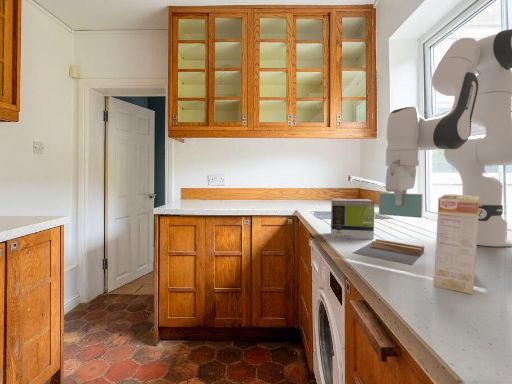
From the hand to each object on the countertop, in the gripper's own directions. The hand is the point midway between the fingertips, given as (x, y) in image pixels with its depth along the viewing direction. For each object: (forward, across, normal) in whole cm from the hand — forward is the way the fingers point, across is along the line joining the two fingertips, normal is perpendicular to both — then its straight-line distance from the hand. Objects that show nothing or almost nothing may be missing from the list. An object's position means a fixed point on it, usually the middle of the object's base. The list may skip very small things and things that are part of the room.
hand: (400, 204), depth 86 cm
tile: (+4, 0, 0) cm, 4 cm away
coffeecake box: (+15, -18, -16) cm, 28 cm away
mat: (+15, -6, +1) cm, 16 cm away
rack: (+14, -1, 0) cm, 14 cm away
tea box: (+15, +9, +19) cm, 26 cm away
